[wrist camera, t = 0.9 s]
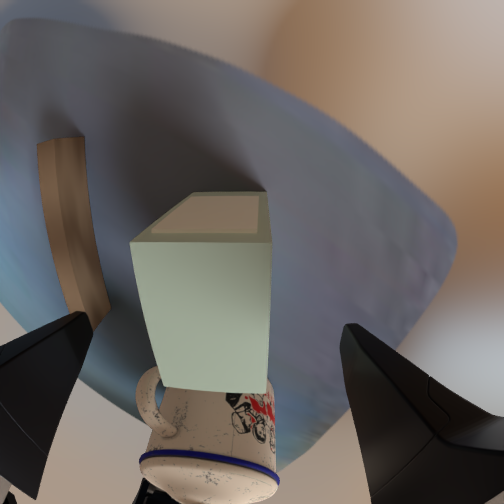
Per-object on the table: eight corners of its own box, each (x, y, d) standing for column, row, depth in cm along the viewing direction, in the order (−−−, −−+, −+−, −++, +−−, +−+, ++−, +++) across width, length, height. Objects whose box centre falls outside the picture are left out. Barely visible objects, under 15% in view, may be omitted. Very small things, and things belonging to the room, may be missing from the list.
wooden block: (111, 308, 18) (92, 332, 15) (93, 306, 18) (74, 329, 15) (84, 136, 13) (54, 138, 11) (65, 141, 13) (35, 144, 11)
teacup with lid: (293, 404, 21) (301, 526, 10) (206, 425, 23) (189, 527, 12) (221, 304, 17) (183, 481, 7) (124, 342, 19) (60, 463, 8)
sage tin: (266, 189, 15) (272, 238, 7) (265, 292, 17) (265, 395, 9) (193, 189, 15) (129, 237, 7) (200, 290, 17) (164, 388, 10)
